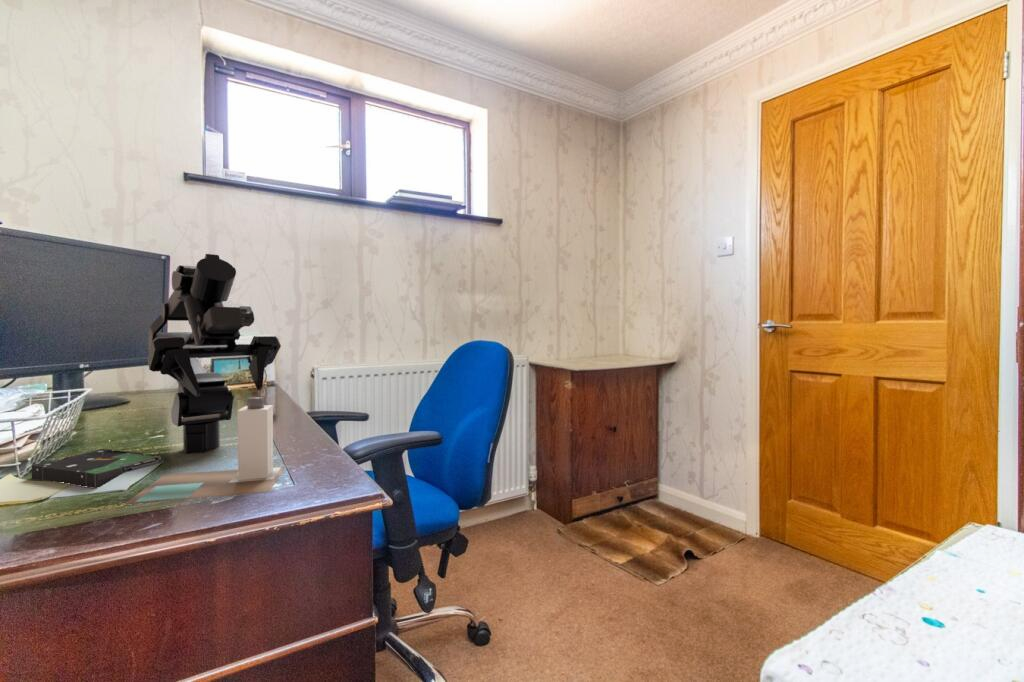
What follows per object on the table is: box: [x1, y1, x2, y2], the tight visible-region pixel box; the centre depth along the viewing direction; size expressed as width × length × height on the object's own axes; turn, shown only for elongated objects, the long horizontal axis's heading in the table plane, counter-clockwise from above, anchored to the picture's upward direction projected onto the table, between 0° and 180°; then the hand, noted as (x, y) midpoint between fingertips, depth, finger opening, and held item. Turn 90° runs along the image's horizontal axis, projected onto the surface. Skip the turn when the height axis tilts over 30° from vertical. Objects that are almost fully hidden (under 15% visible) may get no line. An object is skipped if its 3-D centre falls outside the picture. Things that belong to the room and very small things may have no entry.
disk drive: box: [30, 448, 164, 489], centre depth 75 cm, size 10×3×15 cm
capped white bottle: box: [237, 396, 274, 480], centre depth 71 cm, size 4×4×12 cm
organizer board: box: [124, 465, 286, 505], centre depth 67 cm, size 12×17×1 cm
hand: (230, 391), depth 75 cm, fingers open, 9 cm apart
